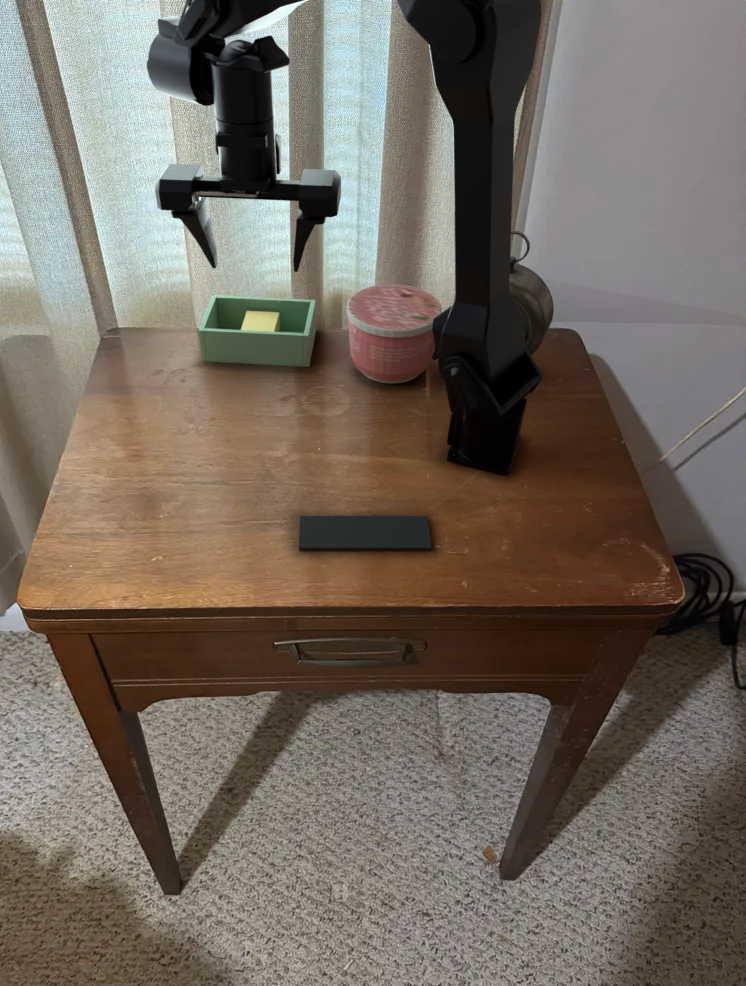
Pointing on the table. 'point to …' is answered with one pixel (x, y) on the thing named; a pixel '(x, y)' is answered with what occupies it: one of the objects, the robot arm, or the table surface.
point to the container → (392, 331)
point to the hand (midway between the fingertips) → (255, 268)
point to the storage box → (258, 347)
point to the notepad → (261, 321)
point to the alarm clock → (530, 300)
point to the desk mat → (364, 533)
